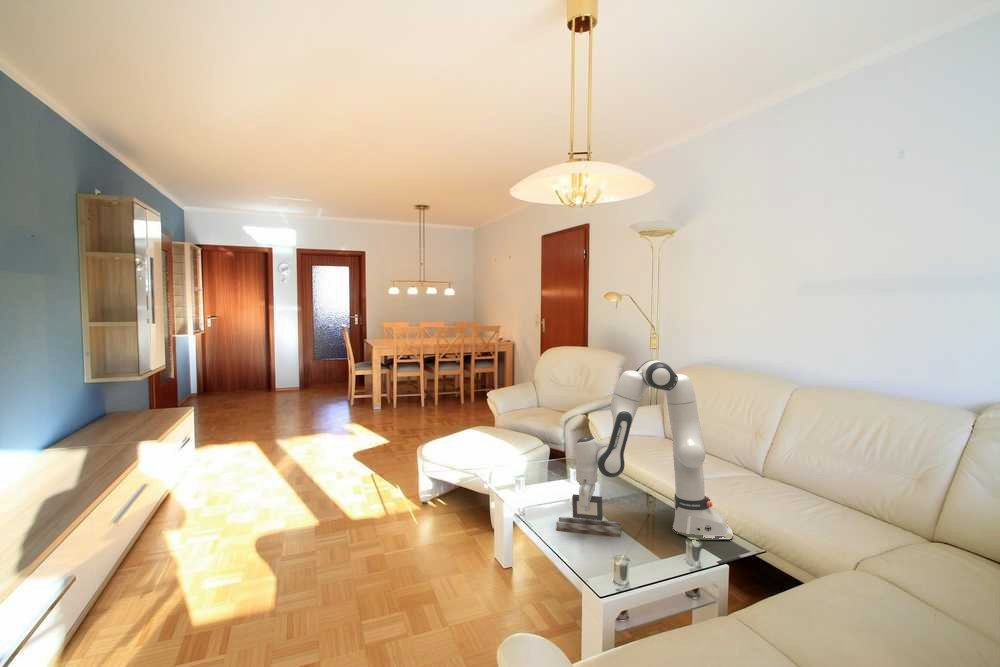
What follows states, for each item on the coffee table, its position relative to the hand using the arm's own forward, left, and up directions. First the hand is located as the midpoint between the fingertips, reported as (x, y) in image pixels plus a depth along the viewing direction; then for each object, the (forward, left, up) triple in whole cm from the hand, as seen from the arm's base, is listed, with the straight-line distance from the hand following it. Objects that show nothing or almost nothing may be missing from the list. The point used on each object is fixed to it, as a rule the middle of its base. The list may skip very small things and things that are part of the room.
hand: (587, 509), depth 201 cm
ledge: (0, 0, -9) cm, 9 cm away
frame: (0, 0, -4) cm, 4 cm away
